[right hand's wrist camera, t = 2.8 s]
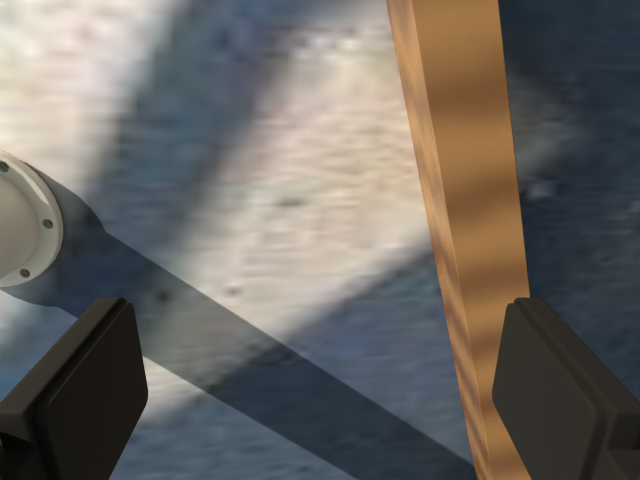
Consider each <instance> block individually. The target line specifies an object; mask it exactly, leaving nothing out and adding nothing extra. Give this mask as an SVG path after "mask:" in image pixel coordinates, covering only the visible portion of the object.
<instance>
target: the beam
mask: <svg viewBox="0 0 640 480" xmlns="http://www.w3.org/2000/svg"><path fill="white" fill-rule="evenodd" d="M386 3H387V8H388V13H389V19H390V24H391V29H392V34H393V40H394V45H395V50H396V56H397V61H398V66H399V71H400V77H401V82H402V87H403V93H404V98H405V103H406V108H407V114H408V119H409V124H410V130H411V135H412V140H413V146H414V151H415V156H416V161H417V167H418V172H419V177H420V183H421V188H422V193H423V198H424V204H425V209H426V214H427V220H428V225H429V230H430V236H431V241H432V246H433V251H434V257H435V262H436V267H437V273H438V278H439V283H440V288H441V294H442V299H443V304H444V310H445V315H446V320H447V325H448V331H449V336H450V341H451V347H452V352H453V357H454V363H455V368H456V373H457V378H458V384H459V389H460V394H461V400H462V405H463V410H464V415H465V421H466V426H467V431H468V437H469V442H470V447H471V453H472V458H473V463H474V468H475V474H476V479H477V480H531V478H530V476H529V474H528V472H527V470H526V468H525V466H524V464H523V462H522V460H521V458H520V456H519V454H518V452H517V450H516V448H515V446H514V444H513V442H512V440H511V438H510V436H509V434H508V432H507V430H506V428H505V426H504V424H503V422H502V420H501V418H500V416H499V414H498V412H497V410H496V408H495V406H494V403H493V399H492V387H493V381H494V376H495V370H496V364H497V358H498V352H499V347H500V341H501V335H502V329H503V323H504V318H505V312H506V307H507V305H508V304H509V303H513V302H514V300H515V299H516V298H517V297H530V291H529V282H528V273H527V264H526V254H525V245H524V236H523V227H522V217H521V208H520V199H519V190H518V180H517V171H516V162H515V153H514V143H513V134H512V125H511V116H510V106H509V97H508V88H507V79H506V69H505V60H504V51H503V42H502V32H501V23H500V14H499V4H498V0H386Z"/></svg>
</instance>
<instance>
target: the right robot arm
mask: <svg viewBox="0 0 640 480" xmlns="http://www.w3.org/2000/svg"><path fill="white" fill-rule="evenodd" d="M51 221H52V222H51ZM62 240H63V221H62V217H61V212H60V209H59V207H58V204H57V202H56V199H55V197H54V196H53V194H52V193H51V191H50V189H49V188H48V186H47V185H46V184H45V183H44V181H43V180H42V179H41V178H40V177H39V176H38V175H37V173H35V172H34V171H33V170H32V169H31V168H29V167H28V166H27V165H26V164H25V163H23V162H22V161H20V160H18V159H17V158H15V157H13V156H12V155H10V154H7V153H5V152H3V151H0V287H8V286H15V285H19V284H22V283H25V282H28V281H30V280H32V279H34V278H35V277H37V276H39V275H40V274H41V273H42V272H44V271H45V270H46V269H47V268H49V266H50V265H51V264H52V263H53V262H54V260H55V259H56V257H57V255H58V253H59V251H60V249H61V245H62ZM147 399H148V387H147V381H146V376H145V370H144V364H143V358H142V352H141V347H140V341H139V335H138V329H137V323H136V318H135V312H134V307H133V305H132V304H131V303H127V302H126V300H125V299H124V298H123V297H101V298H98V299H96V300H95V301H94V303H93V304H92V305H91V306H90V307H89V308H88V309H87V310H86V311H85V312H84V313H83V314H82V315H81V317H80V318H79V319H78V320H77V321H76V322H75V323H74V324H73V325H72V326H71V327H70V328H69V329H68V330H67V332H66V333H65V334H64V335H63V336H62V337H61V338H60V339H59V340H58V341H57V342H56V343H55V344H54V346H53V347H52V348H51V349H50V350H49V351H48V352H47V353H46V354H45V355H44V356H43V357H42V358H41V360H40V361H39V362H38V363H37V364H36V365H35V366H34V367H33V368H32V369H31V370H30V371H29V372H28V373H27V375H26V376H25V377H24V378H23V379H22V380H21V381H20V382H19V383H18V384H17V385H16V386H15V387H14V389H13V390H12V391H11V392H10V393H9V394H8V395H7V396H6V397H5V398H4V399H3V400H2V401H1V402H0V480H109V478H110V476H111V474H112V472H113V470H114V468H115V466H116V464H117V462H118V460H119V458H120V456H121V454H122V452H123V450H124V448H125V446H126V444H127V442H128V440H129V438H130V436H131V434H132V432H133V430H134V428H135V426H136V424H137V422H138V420H139V418H140V416H141V414H142V412H143V410H144V408H145V406H146V403H147ZM492 399H493V403H494V406H495V408H496V410H497V412H498V414H499V416H500V418H501V420H502V422H503V424H504V426H505V428H506V430H507V432H508V434H509V436H510V438H511V440H512V442H513V444H514V446H515V448H516V450H517V452H518V454H519V456H520V458H521V460H522V462H523V464H524V466H525V468H526V470H527V472H528V474H529V476H530V478H531V480H640V402H639V401H638V400H637V399H636V398H635V397H634V396H633V395H632V394H631V393H630V392H629V391H628V390H627V389H626V387H625V386H624V385H623V384H622V383H621V382H620V381H619V380H618V379H617V378H616V377H615V376H614V375H613V373H612V372H611V371H610V370H609V369H608V368H607V367H606V366H605V365H604V364H603V363H602V362H601V361H600V360H599V358H598V357H597V356H596V355H595V354H594V353H593V352H592V351H591V350H590V349H589V348H588V347H587V346H586V344H585V343H584V342H583V341H582V340H581V339H580V338H579V337H578V336H577V335H576V334H575V333H574V332H573V330H572V329H571V328H570V327H569V326H568V325H567V324H566V323H565V322H564V321H563V320H562V319H561V318H560V317H559V315H558V314H557V313H556V312H555V311H554V310H553V309H552V308H551V307H550V306H549V305H548V304H547V303H546V301H545V300H544V299H542V298H539V297H517V298H516V299H515V300H514V302H513V303H509V304H508V305H507V307H506V312H505V318H504V323H503V329H502V335H501V341H500V347H499V352H498V358H497V364H496V370H495V376H494V381H493V387H492Z"/></svg>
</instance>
